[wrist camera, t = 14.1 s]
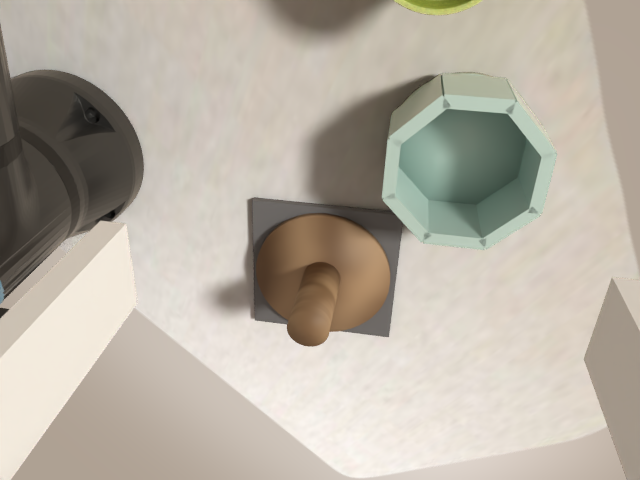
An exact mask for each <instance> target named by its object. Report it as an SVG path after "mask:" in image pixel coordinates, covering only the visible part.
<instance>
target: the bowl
mask: <svg viewBox="0 0 640 480" xmlns="http://www.w3.org/2000/svg"><path fill="white" fill-rule="evenodd" d="M556 152H557V151H556V149H555V148H554V146H553V144H552V142H551V140H550V138H549V137H548V135H547V133H546V131H545V129H544V127H543V125H542V124H541V123H540V121H539V120H538V119H537V117H536V116H535V115H534V113H533V112H532V111H531V110H530V108H529V107H528V106H527V104H526V102H525V101H524V99H523V98H522V97H521V96H520V95H519V94H518V92H517V91H516V90H515V89H514V87H513V86H512V85H511V83H510V82H509V81H508V80H507V79H505V78H503V77H493V76H489V75H486V74H482V73H475V72H459V73H451V74H449V73H442V75H441V74H439V75H438V76H437V77H435V78H434V79H433V80H431V81H429V82H427V83H425V84H424V85H422V86H421V87H419V88H418V89H417V90H415V91H414V92H413V93H412V94H411V95H410V96H409V97H408V98H407V99H406V100H405V102H404V103H403V104H402V105H401V106H400V107H398V108H397V109H396V110H395V111H393V112H392V114H391V120H390V127H389V133H388V140H387V150H386V160H385V170H384V180H383V190H382V198H383V199H382V200H383V201H384V202H385V203H386V205H387V206H388V207H389V208H390V209H391V210H392V211H393V212H394V213H395V214H396V216H397V217H398V218H399V219H400V220H401V221H402V222H403V223H404V224H405V225H406V227H407V228H408V229H409V230H410V231H411V232H412V233H413V234H414V235H415V236H416V238H417V239H418V240H419V241H420V242H423V243H424V244H433V245H442V246H451V247H461V248H470V249H479V250H484V249H488V248H490V247H491V246H493V245H495V244H496V243H498V242H499V241H501V240H503V239H504V238H506V237H507V236H509V235H511V234H512V233H514V232H515V231H517V230H519V229H520V228H522V227H523V226H525V225H527V224H528V223H530V222H531V221H533V220H535V219H536V218H538V217H539V216H541V215H540V214H542V212H543V208H544V204H545V200H546V196H547V192H548V188H549V184H550V181H551V177H552V173H553V169H554V165H555V161H556V157H557V153H556Z"/></svg>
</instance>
